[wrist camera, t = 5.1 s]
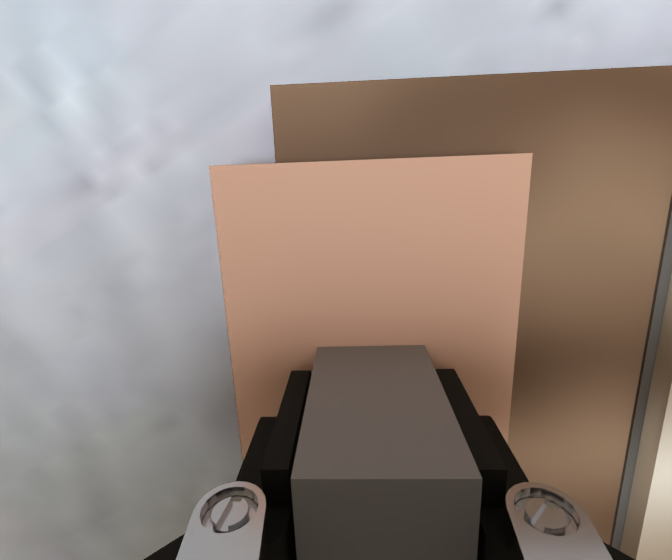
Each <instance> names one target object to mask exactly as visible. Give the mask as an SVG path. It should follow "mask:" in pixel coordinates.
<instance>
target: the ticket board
mask: <svg viewBox="0 0 672 560" xmlns="http://www.w3.org/2000/svg"><path fill="white" fill-rule="evenodd" d="M270 90H271V104H272V118H273V131H274V145H275V159H276V163H294V162H319V161H344V160H369V159H394V158H419V157H444V156H469V155H494V154H520V153H533V155H532V167H531V178H530V190H529V201H528V213H527V225H526V236H525V248H524V259H523V271H522V282H521V294H520V305H519V317H518V328H517V340H516V351H515V363H514V374H513V386H512V398H511V409H510V421H509V432H508V446H509V448H510V449H511V451H512V453H513V454H514V456H515V458H516V460H517V461H518V463H519V465H520V467H521V468H522V470H523V472H524V473H525V475H526V477H527V479H528V480H529V482H536V483H542V484H546V485H549V486H552V487H555V488H557V489H559V490H561V491H563V492H564V493H566V494H568V495H569V496H571V497H572V498H573V499H574V500H575V501H577V502H578V503H579V504H580V505H581V507H582V508H583V509H584V511H585V512H586V513H587V515H588V517H589V518H590V520H591V522H592V524H593V525H594V527H595V529H596V531H597V533H598V534H599V536H600V538H601V540H602V541H603V542H604V543H606V544H608V545H610V546H612V547H613V548H615V549H617V550H619V551H621V552H623V553H624V554H626V555H628V556H630V557H632V558H633V559H635V560H672V66H652V67H631V68H611V69H591V70H571V71H550V72H530V73H510V74H490V75H469V76H449V77H429V78H408V79H388V80H368V81H348V82H327V83H307V84H287V85H270Z"/></svg>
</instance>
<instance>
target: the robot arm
mask: <svg viewBox="0 0 672 560" xmlns="http://www.w3.org/2000/svg"><path fill="white" fill-rule="evenodd" d="M435 370H436V372H437V375H438V377H439V379H440V382H441V384H442V386H443V389H444V391H445V393H446V396H447V398H448V400H449V403H450V405H451V407H452V409H453V412H454V414H455V416H456V419H457V421H458V423H459V426H460V428H461V430H462V433H463V435H464V437H465V440H466V442H467V444H468V446H469V449H470V451H471V453H472V456H473V458H474V460H475V463H476V465H477V467H478V470H479V472H480V474H481V477H482V493H481V508H480V522H479V536H478V551H477V560H635V559H633V558H632V557H630V556H628V555H626V554H624V553H623V552H621V551H619V550H617V549H615V548H613V547H612V546H610V545H608V544H606V543H604V542H603V541H602V540H601V538H600V536H599V534H598V533H597V531H596V529H595V527H594V525H593V524H592V522H591V520H590V518H589V517H588V515H587V513H586V512H585V511H584V509H583V508H582V507H581V505H580V504H579V503H578V502H577V501H575V500H574V499H573V498H572V497H571V496H569V495H568V494H566V493H564V492H563V491H561V490H559V489H557V488H555V487H552V486H549V485H546V484H542V483H536V482H529V480H528V479H527V477H526V475H525V473H524V472H523V470H522V468H521V467H520V465H519V463H518V461H517V460H516V458H515V456H514V454H513V453H512V451H511V449H510V448H509V446H508V444H507V442H506V441H505V439H504V437H503V435H502V434H501V432H500V430H499V429H498V427H497V425H496V423H495V422H494V420H493V419H492V417H491V416H489V415H479V414H478V413H477V411H476V409H475V407H474V405H473V403H472V401H471V399H470V397H469V396H468V394H467V392H466V390H465V388H464V386H463V384H462V382H461V380H460V379H459V377H458V375H457V373H456V371H455V370H454V369H435ZM311 376H312V375H311V371H310V370H292V371H291V373H290V376H289V379H288V383H287V386H286V389H285V392H284V395H283V399H282V402H281V405H280V408H279V411H278V415H277V417H261V418H260V420H259V422H258V424H257V427H256V429H255V432H254V435H253V437H252V440H251V443H250V445H249V448H248V451H247V453H246V456H245V458H244V461H243V464H242V466H241V469H240V472H239V474H238V477H237V479H236V481H235V482H229V483H225V484H222V485H220V486H218V487H215V488H214V489H212V490H211V491H209V492H208V493H206V494H205V495H204V496H203V497H202V498H201V499H200V500H199V501H198V502H197V504H196V506H195V508H194V510H193V512H192V515H191V518H190V521H189V523H188V526H187V529H186V532H185V534H184V535H182V536H180V537H179V538H177V539H176V540H174V541H172V542H171V543H169V544H168V545H166V546H165V547H163V548H161V549H160V550H158V551H157V552H155V553H153V554H152V555H150V556H149V557H147V558H145V559H144V560H297V554H296V542H295V529H294V517H293V504H292V491H291V475H292V470H293V465H294V460H295V455H296V450H297V445H298V440H299V435H300V430H301V425H302V420H303V415H304V410H305V405H306V400H307V395H308V390H309V385H310V380H311Z"/></svg>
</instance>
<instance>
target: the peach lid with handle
mask: <svg viewBox="0 0 672 560" xmlns="http://www.w3.org/2000/svg"><path fill="white" fill-rule="evenodd" d="M532 155H533V153H520V154H494V155H469V156H444V157H419V158H394V159H369V160H344V161H319V162H294V163H269V164H244V165H219V166H209V170H210V179H211V188H212V196H213V205H214V214H215V222H216V231H217V240H218V249H219V257H220V266H221V275H222V284H223V292H224V301H225V310H226V319H227V327H228V336H229V345H230V354H231V362H232V371H233V380H234V388H235V397H236V406H237V415H238V423H239V432H240V441H241V450H242V458H243V461H244V458H245V456H246V453H247V451H248V448H249V445H250V443H251V440H252V437H253V435H254V432H255V429H256V427H257V424H258V422H259V420H260V418H261V417H277V415H278V411H279V408H280V405H281V402H282V399H283V395H284V392H285V389H286V386H287V383H288V379H289V376H290V373H291V371H292V370H310V371H311V375H312V376H311V380H310V385H309V390H308V395H307V400H306V405H305V410H304V415H303V420H302V425H301V430H300V435H299V440H298V445H297V450H296V455H295V460H294V465H293V470H292V475H291V491H292V504H293V517H294V529H295V542H296V554H297V560H477V551H478V536H479V522H480V508H481V493H482V477H481V474H480V472H479V470H478V467H477V465H476V463H475V460H474V458H473V456H472V453H471V451H470V449H469V446H468V444H467V442H466V440H465V437H464V435H463V433H462V430H461V428H460V426H459V423H458V421H457V419H456V416H455V414H454V412H453V409H452V407H451V405H450V403H449V400H448V398H447V396H446V393H445V391H444V389H443V386H442V384H441V382H440V379H439V377H438V375H437V372H436V370H435V369H454V370H455V371H456V373H457V375H458V377H459V379H460V380H461V382H462V384H463V386H464V388H465V390H466V392H467V394H468V396H469V397H470V399H471V401H472V403H473V405H474V407H475V409H476V411H477V413H478V414H479V415H489V416H491V417H492V419H493V420H494V422H495V423H496V425H497V427H498V429H499V430H500V432H501V434H502V435H503V437H504V439H505V441H506V442H507V444H508V432H509V421H510V409H511V398H512V386H513V374H514V363H515V351H516V340H517V328H518V317H519V305H520V294H521V282H522V271H523V259H524V248H525V236H526V225H527V213H528V201H529V190H530V178H531V167H532Z"/></svg>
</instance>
